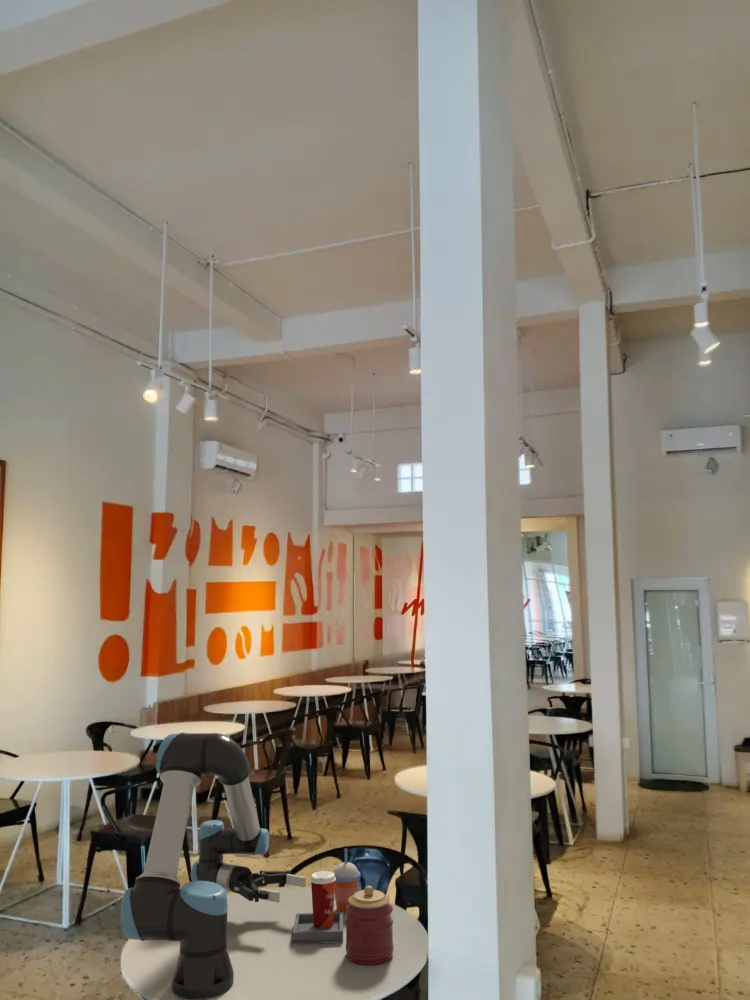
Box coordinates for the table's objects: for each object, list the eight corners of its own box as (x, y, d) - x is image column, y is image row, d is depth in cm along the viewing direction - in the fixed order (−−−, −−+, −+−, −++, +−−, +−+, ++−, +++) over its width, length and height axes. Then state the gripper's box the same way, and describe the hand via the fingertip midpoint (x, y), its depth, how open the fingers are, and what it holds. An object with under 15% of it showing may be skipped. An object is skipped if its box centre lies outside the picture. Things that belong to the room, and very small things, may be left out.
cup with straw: (366, 907, 241) (365, 847, 244) (350, 917, 234) (349, 855, 236) (342, 902, 246) (342, 842, 249) (326, 911, 239) (325, 850, 241)
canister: (355, 969, 200) (354, 897, 202) (339, 949, 212) (338, 881, 214) (401, 960, 205) (400, 890, 207) (382, 941, 217) (381, 875, 219)
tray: (293, 944, 216) (292, 932, 216) (296, 924, 230) (296, 913, 230) (343, 942, 216) (342, 931, 217) (343, 922, 230) (343, 911, 230)
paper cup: (334, 930, 222) (333, 879, 224) (308, 930, 223) (307, 878, 224) (338, 919, 230) (337, 870, 231) (312, 919, 230) (312, 869, 232)
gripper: (259, 878, 249) (314, 889, 239) (208, 905, 227) (267, 918, 217) (259, 854, 250) (314, 863, 240) (208, 878, 228) (267, 889, 218)
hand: (292, 889), depth 229 cm, fingers open, 13 cm apart
